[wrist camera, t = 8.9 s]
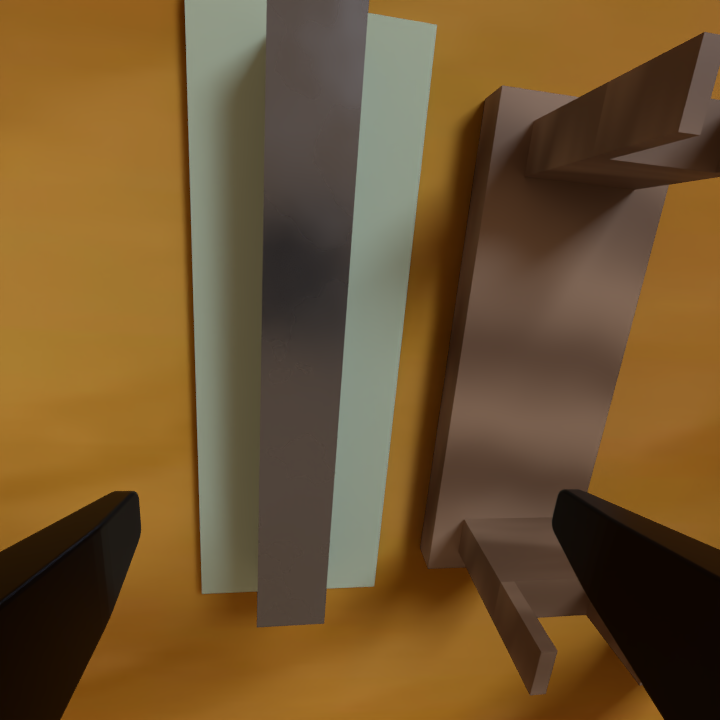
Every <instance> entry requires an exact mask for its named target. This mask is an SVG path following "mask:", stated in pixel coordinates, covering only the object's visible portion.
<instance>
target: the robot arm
mask: <svg viewBox="0 0 720 720" xmlns="http://www.w3.org/2000/svg"><path fill="white" fill-rule="evenodd" d="M552 528H553V531H554V534H555V536H556V538H557V540H558V542H559V543H560V545H561V547H562V549H563V551H564V553H565V555H566V557H567V559H568V561H569V563H570V565H571V567H572V569H573V571H574V573H575V575H576V576H577V578H578V580H579V582H580V584H581V586H582V588H583V590H584V592H585V593H586V595H587V597H588V599H589V600H590V602H591V604H592V605H593V607H594V609H595V610H596V612H597V613H598V615H599V617H600V618H601V620H602V621H603V623H604V625H605V626H606V628H607V629H608V631H609V633H610V634H611V636H612V637H613V639H614V641H615V642H616V644H617V645H618V647H619V648H620V650H621V652H622V653H623V655H624V656H625V658H626V660H627V661H628V663H629V664H630V666H631V668H632V669H633V671H634V672H635V674H636V676H637V677H638V679H639V680H640V682H641V683H642V685H643V687H644V688H645V690H646V691H647V693H648V695H649V696H650V698H651V699H652V701H653V703H654V704H655V706H656V707H657V709H658V711H659V712H660V714H661V715H662V717H663V718H664V720H720V550H719V549H716V548H714V547H712V546H710V545H707V544H705V543H703V542H700V541H698V540H696V539H693V538H691V537H689V536H686V535H684V534H682V533H679V532H677V531H675V530H673V529H670V528H668V527H666V526H663V525H661V524H659V523H656V522H654V521H652V520H649V519H647V518H645V517H643V516H640V515H638V514H636V513H633V512H631V511H629V510H626V509H624V508H622V507H619V506H617V505H615V504H613V503H610V502H608V501H606V500H603V499H601V498H599V497H596V496H594V495H592V494H589V493H587V492H585V491H583V490H580V489H563V490H561V491H560V492H559V493H558V496H557V500H556V504H555V508H554V512H553V517H552ZM140 533H141V520H140V507H139V497H138V494H137V493H136V492H135V491H114V492H111V493H109V494H108V495H106V496H104V497H102V498H100V499H98V500H96V501H95V502H93V503H91V504H89V505H87V506H85V507H83V508H81V509H80V510H78V511H76V512H74V513H72V514H70V515H68V516H66V517H65V518H63V519H61V520H59V521H57V522H55V523H53V524H52V525H50V526H48V527H46V528H44V529H42V530H40V531H38V532H37V533H35V534H33V535H31V536H29V537H27V538H25V539H23V540H22V541H20V542H18V543H16V544H14V545H12V546H10V547H8V548H7V549H5V550H3V551H1V552H0V720H60V719H61V717H62V715H63V713H64V711H65V709H66V707H67V705H68V703H69V701H70V699H71V697H72V695H73V693H74V691H75V689H76V687H77V685H78V683H79V681H80V679H81V677H82V675H83V673H84V670H85V668H86V666H87V664H88V662H89V660H90V658H91V656H92V654H93V652H94V650H95V648H96V646H97V644H98V642H99V640H100V638H101V636H102V634H103V632H104V630H105V627H106V625H107V623H108V621H109V619H110V616H111V614H112V611H113V609H114V606H115V604H116V601H117V598H118V596H119V593H120V590H121V587H122V585H123V582H124V579H125V577H126V574H127V571H128V568H129V566H130V563H131V560H132V558H133V555H134V552H135V550H136V547H137V544H138V541H139V538H140Z"/></svg>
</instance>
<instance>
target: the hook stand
mask: <svg viewBox="0 0 720 720" xmlns="http://www.w3.org/2000/svg"><path fill="white" fill-rule="evenodd" d="M719 66H720V35H718V34H712V33H707V32H704V33H702V34H700V35H698V36H696V37H694V38H692V39H690V40H688V41H686V42H684V43H683V44H681V45H679V46H677V47H675V48H673V49H671V50H669V51H667V52H665V53H663V54H661V55H659V56H658V57H656V58H654V59H652V60H650V61H648V62H646V63H644V64H642V65H640V66H638V67H636V68H634V69H633V70H631V71H629V72H627V73H625V74H623V75H621V76H619V77H617V78H615V79H613V80H611V81H610V82H608V83H606V84H604V85H602V86H600V87H598V88H596V89H594V90H592V91H590V92H588V93H586V94H585V95H583V96H581V97H573V96H567V95H560V94H554V93H547V92H541V91H534V90H528V89H521V88H515V87H508V86H501V87H500V88H499V89H497V90H496V91H495V92H494V93H492V94H491V95H490V96H488V97H487V98H486V99H485V104H484V111H483V118H482V125H481V132H480V138H479V145H478V152H477V159H476V166H475V173H474V180H473V187H472V194H471V200H470V207H469V214H468V221H467V228H466V235H465V242H464V249H463V256H462V263H461V269H460V276H459V283H458V290H457V297H456V304H455V311H454V318H453V325H452V331H451V338H450V345H449V352H448V359H447V366H446V373H445V380H444V387H443V394H442V400H441V407H440V414H439V421H438V428H437V435H436V442H435V449H434V456H433V462H432V469H431V476H430V483H429V490H428V497H427V504H426V511H425V518H424V524H423V531H422V538H421V545H420V549H421V552H422V554H423V557H424V560H425V562H426V565H427V567H428V569H434V568H460V567H466V568H467V570H468V572H469V574H470V576H471V578H472V580H473V582H474V584H475V586H476V588H477V590H478V592H479V594H480V596H481V598H482V600H483V602H484V604H485V606H486V608H487V610H488V612H489V614H490V616H491V618H492V620H493V622H494V624H495V626H496V628H497V630H498V632H499V634H500V636H501V638H502V640H503V642H504V644H505V646H506V648H507V650H508V652H509V654H510V656H511V658H512V660H513V662H514V664H515V666H516V668H517V670H518V672H519V674H520V676H521V678H522V680H523V682H524V684H525V686H526V688H527V690H528V692H529V694H530V695H539V694H546V691H547V687H548V683H549V680H550V676H551V672H552V669H553V665H554V662H555V658H556V654H557V649H556V648H555V646H554V645H553V643H552V641H551V640H550V638H549V637H548V635H547V633H546V632H545V630H544V629H543V627H542V625H541V624H540V622H539V620H538V619H537V618H540V617H556V616H573V615H587V617H588V618H589V619H590V621H591V622H592V623H593V625H594V626H595V627H596V629H597V630H598V631H599V633H600V634H601V635H602V636H603V638H604V639H605V640H606V642H607V643H608V644H609V646H610V647H611V648H612V650H613V651H614V652H615V654H616V655H617V656H618V658H619V659H620V660H621V662H622V663H623V664H624V666H625V667H626V668H627V669H628V671H629V672H630V673H631V675H632V676H633V677H634V679H635V680H636V681H637V683H638V684H639V685H642V683H641V682H640V680H639V679H638V677H637V676H636V674H635V672H634V671H633V669H632V668H631V666H630V664H629V663H628V661H627V660H626V658H625V656H624V655H623V653H622V652H621V650H620V648H619V647H618V645H617V644H616V642H615V641H614V639H613V637H612V636H611V634H610V633H609V631H608V629H607V628H606V626H605V625H604V623H603V621H602V620H601V618H600V617H599V615H598V613H597V612H596V610H595V609H594V607H593V605H592V604H591V602H590V600H589V599H588V597H587V595H586V593H585V592H584V590H583V588H582V586H581V584H580V582H579V580H578V578H577V576H576V575H575V573H574V571H573V569H572V567H571V565H570V563H569V561H568V559H567V557H566V555H565V553H564V551H563V549H562V547H561V545H560V543H559V542H558V540H557V538H556V536H555V534H554V531H553V528H552V517H553V512H554V508H555V504H556V500H557V496H558V493H559V492H560V491H561V490H563V489H580V490H583V491H585V492H587V490H588V487H589V483H590V479H591V475H592V472H593V468H594V464H595V460H596V457H597V453H598V449H599V445H600V442H601V438H602V434H603V430H604V427H605V423H606V419H607V415H608V411H609V408H610V404H611V400H612V396H613V393H614V389H615V385H616V381H617V378H618V374H619V370H620V366H621V363H622V359H623V355H624V351H625V348H626V344H627V340H628V336H629V333H630V329H631V325H632V321H633V317H634V314H635V310H636V306H637V302H638V299H639V295H640V291H641V287H642V284H643V280H644V276H645V272H646V269H647V265H648V261H649V257H650V254H651V250H652V246H653V242H654V238H655V235H656V231H657V227H658V223H659V220H660V216H661V212H662V208H663V205H664V201H665V197H666V193H667V190H668V186H669V184H676V183H682V182H689V181H695V180H702V179H708V178H715V177H720V100H715V99H710V98H711V94H712V91H713V87H714V84H715V80H716V76H717V73H718V69H719Z"/></svg>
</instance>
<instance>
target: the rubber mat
mask: <svg viewBox="0 0 720 720" xmlns="http://www.w3.org/2000/svg"><path fill="white" fill-rule="evenodd" d="M266 13H267V0H185V31H186V65H187V99H188V134H189V168H190V202H191V236H192V270H193V305H194V339H195V373H196V407H197V441H198V476H199V510H200V544H201V578H202V594H211V593H234V592H257V591H258V528H259V463H260V399H261V335H262V270H263V206H264V142H265V77H266ZM436 29H437V25H435V24H429V23H423V22H418V21H412V20H406V19H400V18H394V17H389V16H383V15H377V14H371V13H368V21H367V34H366V48H365V62H364V76H363V90H362V104H361V118H360V131H359V145H358V159H357V173H356V187H355V201H354V215H353V228H352V242H351V256H350V270H349V284H348V298H347V312H346V325H345V339H344V353H343V367H342V381H341V395H340V409H339V423H338V436H337V450H336V464H335V478H334V492H333V506H332V520H331V533H330V547H329V561H328V575H327V588H349V587H371V586H374V583H375V574H376V565H377V556H378V547H379V538H380V529H381V520H382V511H383V502H384V493H385V484H386V475H387V466H388V457H389V449H390V440H391V431H392V422H393V413H394V404H395V395H396V386H397V377H398V368H399V359H400V350H401V341H402V332H403V323H404V314H405V306H406V297H407V288H408V279H409V270H410V261H411V252H412V243H413V234H414V225H415V216H416V207H417V198H418V189H419V180H420V172H421V163H422V154H423V145H424V136H425V127H426V118H427V109H428V100H429V91H430V82H431V73H432V64H433V55H434V46H435V38H436Z"/></svg>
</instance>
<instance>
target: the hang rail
mask: <svg viewBox="0 0 720 720" xmlns="http://www.w3.org/2000/svg"><path fill="white" fill-rule="evenodd" d="M368 7H369V0H267V13H266V77H265V142H264V206H263V270H262V335H261V399H260V463H259V528H258V592H257V627H271V626H288V625H306V624H323V623H324V617H325V603H326V589H327V575H328V561H329V547H330V533H331V520H332V506H333V492H334V478H335V464H336V450H337V436H338V423H339V409H340V395H341V381H342V367H343V353H344V339H345V325H346V312H347V298H348V284H349V270H350V256H351V242H352V228H353V215H354V201H355V187H356V173H357V159H358V145H359V131H360V118H361V104H362V90H363V76H364V62H365V48H366V34H367V21H368Z"/></svg>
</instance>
